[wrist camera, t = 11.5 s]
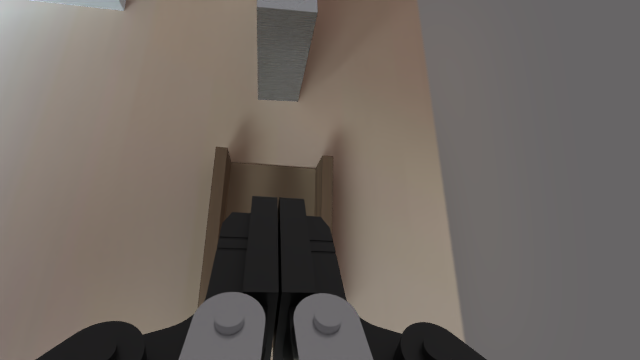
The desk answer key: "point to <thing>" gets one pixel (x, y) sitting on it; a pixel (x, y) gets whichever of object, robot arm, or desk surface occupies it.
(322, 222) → the robot arm
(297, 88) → the grey rectangular block
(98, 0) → the bracket
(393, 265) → the desk surface
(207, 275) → the walnut box
